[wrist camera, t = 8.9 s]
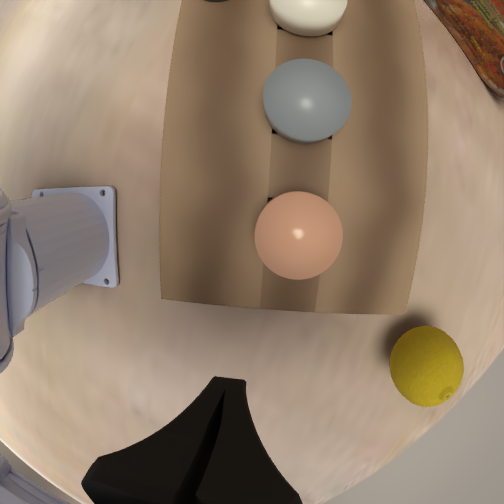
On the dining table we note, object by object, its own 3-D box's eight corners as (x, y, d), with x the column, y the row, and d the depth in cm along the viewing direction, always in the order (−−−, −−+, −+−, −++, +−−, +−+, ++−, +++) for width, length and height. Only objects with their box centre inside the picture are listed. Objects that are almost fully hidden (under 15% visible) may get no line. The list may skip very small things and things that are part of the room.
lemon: (418, 297, 21) (470, 345, 13) (441, 338, 21) (486, 388, 14) (366, 340, 22) (398, 404, 14) (394, 375, 22) (425, 436, 15)
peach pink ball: (256, 252, 20) (251, 276, 15) (261, 186, 19) (257, 188, 14) (321, 256, 20) (337, 282, 15) (327, 192, 19) (347, 196, 14)
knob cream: (268, 53, 17) (267, 17, 12) (271, 7, 16) (270, -33, 10) (332, 60, 16) (349, 26, 11) (330, 13, 15) (344, -25, 10)
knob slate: (263, 147, 18) (260, 135, 13) (267, 85, 17) (265, 55, 12) (330, 153, 18) (350, 144, 13) (332, 92, 17) (351, 65, 12)
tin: (399, -24, 14) (433, -73, 6) (419, -27, 13) (454, -71, 5) (496, 111, 16) (560, 98, 8) (510, 101, 16) (569, 89, 7)
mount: (177, 281, 21) (154, 306, 17) (200, -11, 16) (186, -43, 11) (387, 295, 21) (411, 322, 16) (395, 8, 15) (416, -19, 10)
